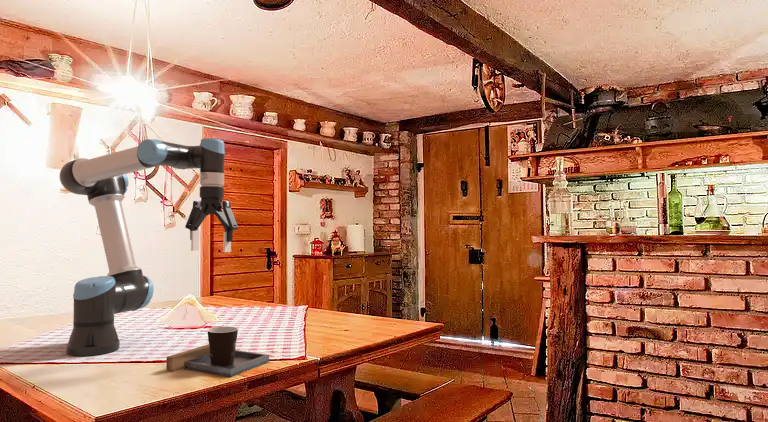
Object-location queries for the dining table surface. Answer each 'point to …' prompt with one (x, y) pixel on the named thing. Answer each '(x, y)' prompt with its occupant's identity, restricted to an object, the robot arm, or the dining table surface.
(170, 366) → the brown long thin block
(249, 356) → the tray
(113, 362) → the dining table surface
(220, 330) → the coffee mug
